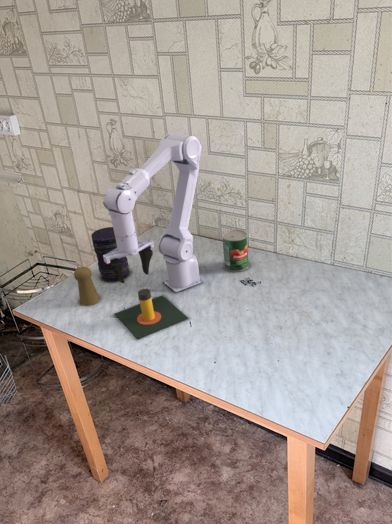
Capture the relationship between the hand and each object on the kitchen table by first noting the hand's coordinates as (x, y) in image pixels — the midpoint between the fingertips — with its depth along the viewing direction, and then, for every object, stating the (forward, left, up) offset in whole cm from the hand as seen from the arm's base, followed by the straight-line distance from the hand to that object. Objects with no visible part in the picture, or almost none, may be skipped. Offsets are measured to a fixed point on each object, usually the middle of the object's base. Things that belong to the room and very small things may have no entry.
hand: (134, 277), depth 146 cm
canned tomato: (-36, -3, -11) cm, 38 cm away
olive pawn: (+11, -15, -11) cm, 21 cm away
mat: (0, +6, -10) cm, 12 cm away
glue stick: (+1, +7, -10) cm, 12 cm away
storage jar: (-2, -25, -10) cm, 27 cm away
